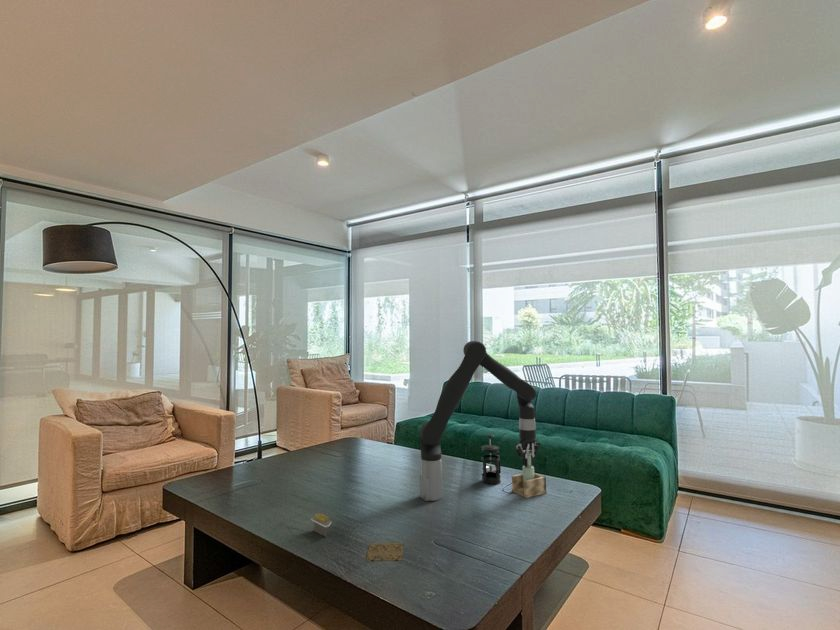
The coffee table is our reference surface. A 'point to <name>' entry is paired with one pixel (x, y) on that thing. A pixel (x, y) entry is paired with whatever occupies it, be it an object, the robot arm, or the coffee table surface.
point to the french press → (490, 472)
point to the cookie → (385, 552)
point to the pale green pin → (528, 469)
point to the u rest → (529, 485)
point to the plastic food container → (321, 524)
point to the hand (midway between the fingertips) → (528, 465)
